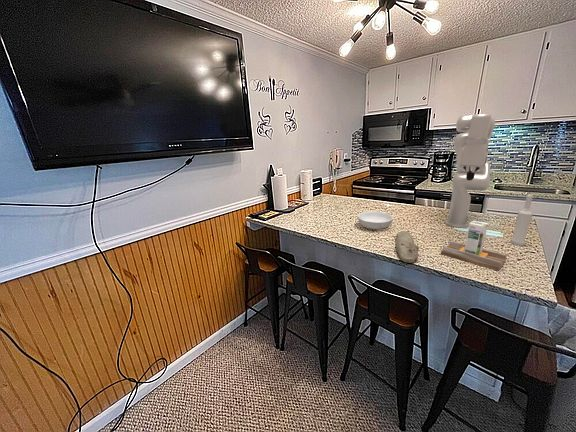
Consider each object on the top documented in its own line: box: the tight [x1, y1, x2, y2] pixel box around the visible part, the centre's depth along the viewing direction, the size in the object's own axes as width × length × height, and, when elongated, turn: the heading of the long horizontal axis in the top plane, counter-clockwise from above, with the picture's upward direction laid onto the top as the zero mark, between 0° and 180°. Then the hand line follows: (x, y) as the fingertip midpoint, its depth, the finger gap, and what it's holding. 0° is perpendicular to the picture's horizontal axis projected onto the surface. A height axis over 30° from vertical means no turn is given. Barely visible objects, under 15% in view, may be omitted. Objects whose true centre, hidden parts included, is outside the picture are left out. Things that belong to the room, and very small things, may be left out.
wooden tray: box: [440, 240, 508, 272], centre depth 114 cm, size 12×22×4 cm, turn 40°
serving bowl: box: [357, 210, 394, 230], centre depth 156 cm, size 21×21×7 cm
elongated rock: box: [394, 230, 420, 264], centre depth 126 cm, size 35×5×10 cm
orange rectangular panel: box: [460, 247, 488, 257], centre depth 113 cm, size 7×10×1 cm
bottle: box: [510, 194, 534, 246], centre depth 120 cm, size 5×5×25 cm
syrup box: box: [464, 220, 489, 255], centre depth 111 cm, size 6×6×14 cm
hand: (469, 179), depth 123 cm, fingers closed
